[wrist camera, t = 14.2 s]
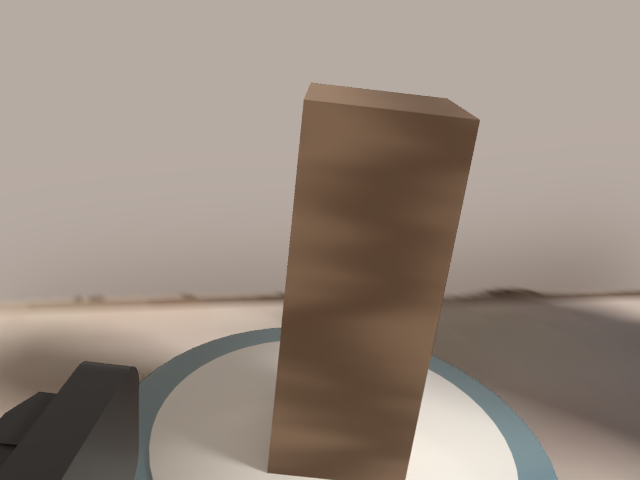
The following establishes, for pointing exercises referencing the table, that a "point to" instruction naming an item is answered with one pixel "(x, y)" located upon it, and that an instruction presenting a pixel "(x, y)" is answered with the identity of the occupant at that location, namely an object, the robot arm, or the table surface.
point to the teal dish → (257, 412)
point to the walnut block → (365, 278)
